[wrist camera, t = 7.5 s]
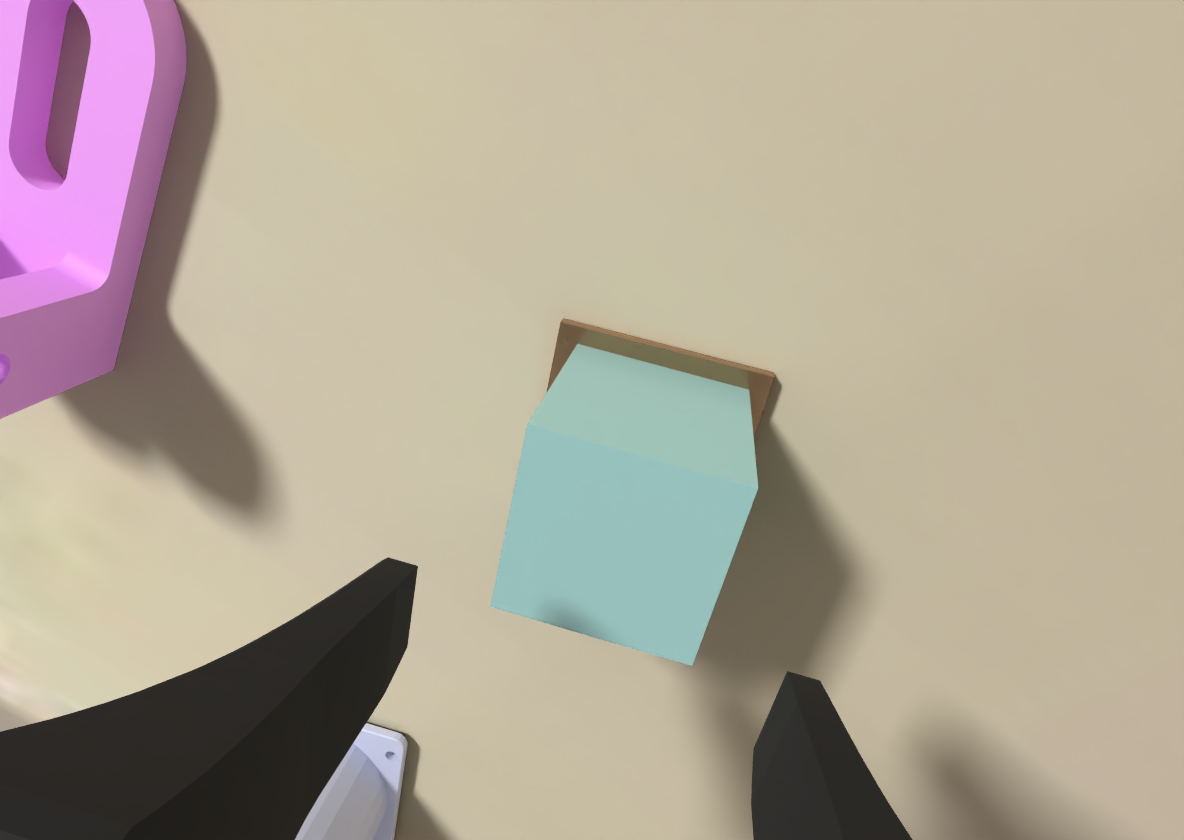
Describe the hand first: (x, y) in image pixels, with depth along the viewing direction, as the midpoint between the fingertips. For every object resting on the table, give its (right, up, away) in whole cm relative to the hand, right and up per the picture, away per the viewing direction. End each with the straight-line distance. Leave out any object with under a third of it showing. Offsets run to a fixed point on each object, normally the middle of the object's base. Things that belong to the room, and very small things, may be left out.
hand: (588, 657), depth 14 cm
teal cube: (+2, +4, +9) cm, 10 cm away
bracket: (-16, +13, +9) cm, 22 cm away
